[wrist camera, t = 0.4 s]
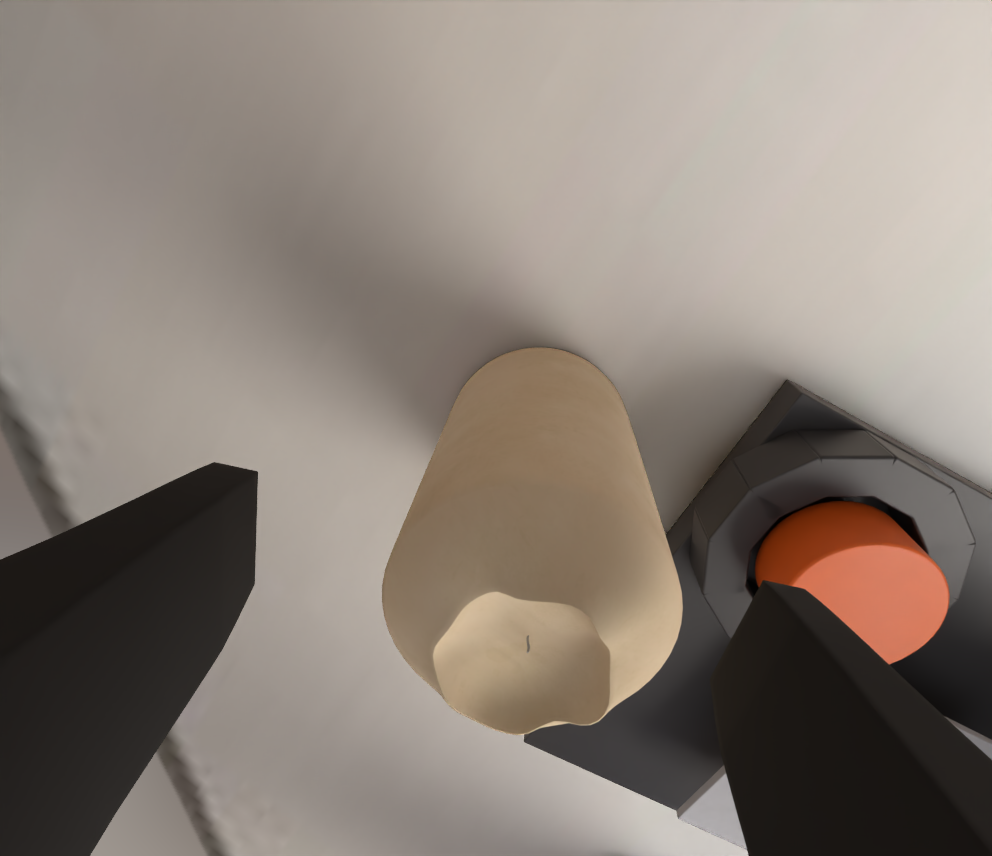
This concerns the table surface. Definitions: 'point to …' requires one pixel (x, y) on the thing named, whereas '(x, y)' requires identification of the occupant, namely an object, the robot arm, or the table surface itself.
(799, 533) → the button
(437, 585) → the candle
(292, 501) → the table surface
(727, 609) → the grey base plate
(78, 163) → the table surface
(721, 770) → the tower
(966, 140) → the table surface
